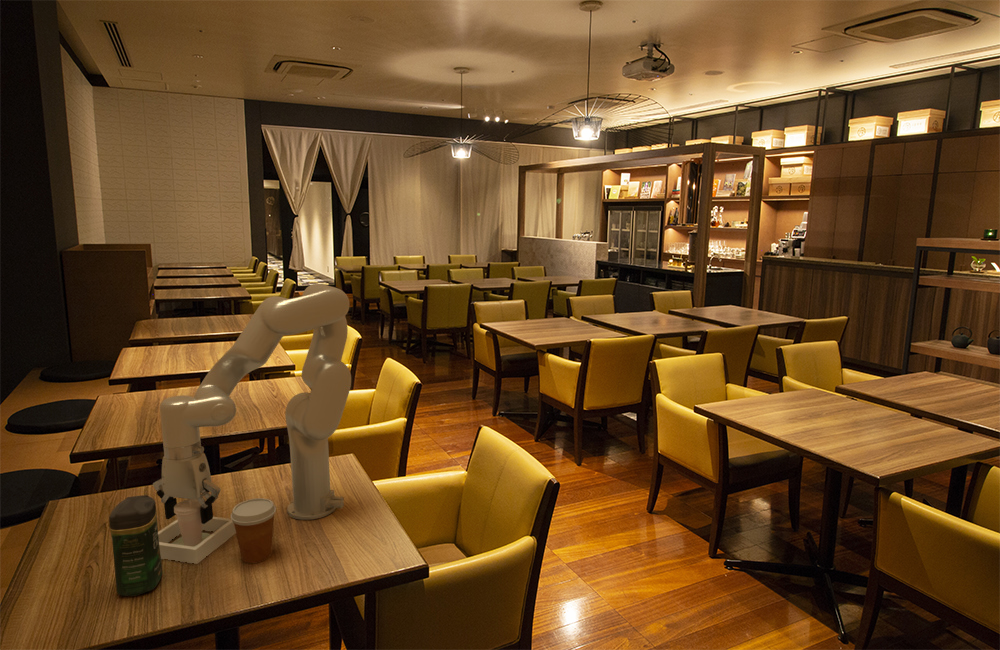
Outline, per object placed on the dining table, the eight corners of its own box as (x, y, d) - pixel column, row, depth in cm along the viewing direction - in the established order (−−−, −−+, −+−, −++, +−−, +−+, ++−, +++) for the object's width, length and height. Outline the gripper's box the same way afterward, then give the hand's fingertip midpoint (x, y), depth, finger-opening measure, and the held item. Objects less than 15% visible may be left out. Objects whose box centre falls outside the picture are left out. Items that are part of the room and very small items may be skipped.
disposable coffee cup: (235, 572, 130) (231, 521, 128) (232, 550, 138) (228, 502, 136) (281, 560, 134) (278, 511, 132) (276, 540, 143) (272, 493, 140)
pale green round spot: (221, 536, 144) (221, 535, 144) (195, 556, 136) (194, 555, 136) (189, 532, 146) (189, 530, 146) (161, 552, 138) (161, 550, 138)
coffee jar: (157, 594, 122) (147, 510, 119) (112, 601, 120) (102, 516, 117) (167, 568, 131) (158, 489, 128) (126, 574, 129) (116, 494, 126)
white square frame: (236, 532, 146) (235, 519, 146) (196, 564, 133) (195, 549, 132) (187, 526, 149) (186, 513, 149) (143, 556, 136) (141, 542, 135)
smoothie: (195, 551, 137) (189, 494, 135) (171, 548, 138) (164, 492, 136) (213, 536, 143) (208, 482, 141) (190, 533, 145) (184, 480, 142)
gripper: (226, 446, 139) (232, 515, 142) (162, 440, 142) (169, 507, 145) (204, 459, 131) (210, 531, 134) (137, 452, 135) (145, 522, 138)
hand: (189, 518), depth 140 cm, fingers open, 9 cm apart
